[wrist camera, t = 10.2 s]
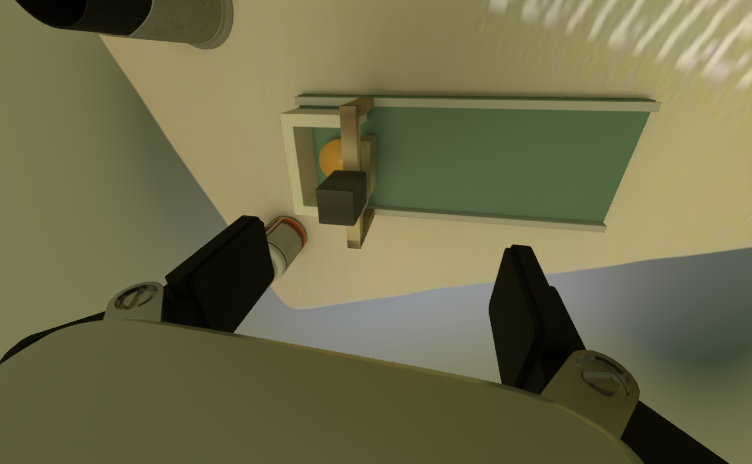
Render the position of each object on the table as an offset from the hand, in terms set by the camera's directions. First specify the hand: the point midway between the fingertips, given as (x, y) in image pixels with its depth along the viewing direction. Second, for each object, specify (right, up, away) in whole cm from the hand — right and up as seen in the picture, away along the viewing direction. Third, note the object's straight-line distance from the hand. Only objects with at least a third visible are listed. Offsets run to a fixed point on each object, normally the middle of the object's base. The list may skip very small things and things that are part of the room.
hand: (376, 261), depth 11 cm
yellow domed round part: (-4, +10, +25) cm, 27 cm away
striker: (-1, +10, +24) cm, 26 cm away
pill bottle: (-13, +1, +34) cm, 37 cm away
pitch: (+9, +10, +24) cm, 27 cm away
